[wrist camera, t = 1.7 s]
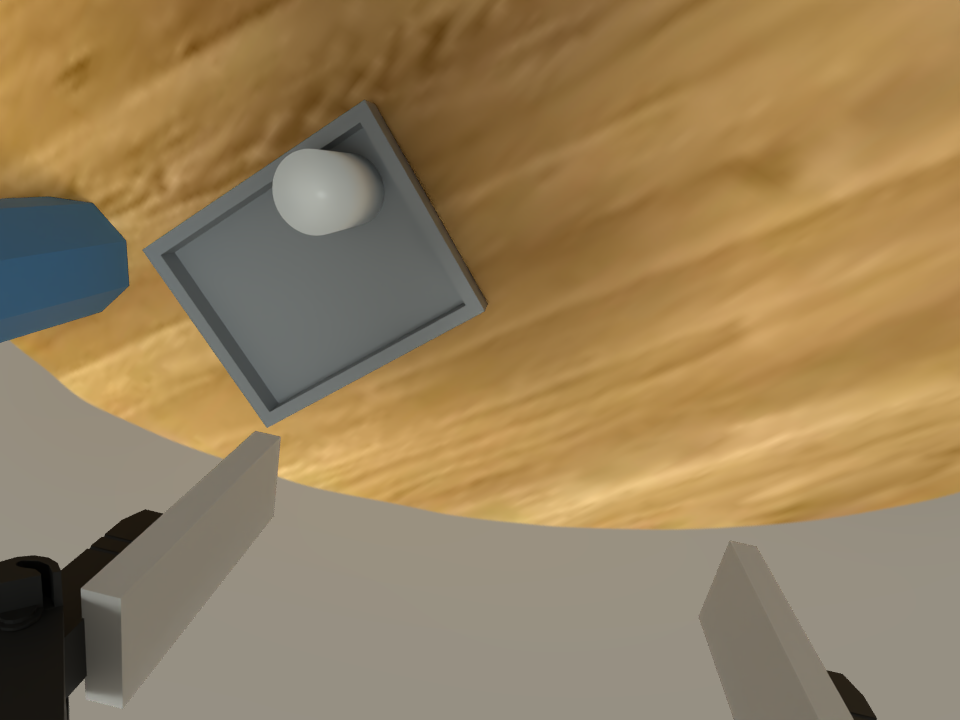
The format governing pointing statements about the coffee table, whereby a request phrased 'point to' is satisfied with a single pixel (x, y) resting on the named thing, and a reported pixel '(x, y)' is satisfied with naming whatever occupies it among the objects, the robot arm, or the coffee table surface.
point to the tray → (317, 279)
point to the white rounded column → (326, 191)
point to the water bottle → (56, 263)
